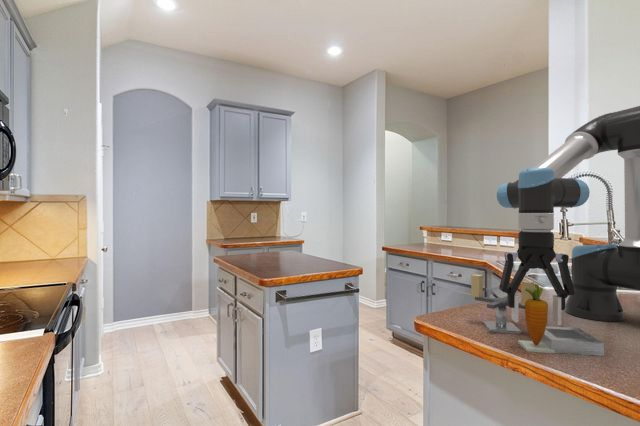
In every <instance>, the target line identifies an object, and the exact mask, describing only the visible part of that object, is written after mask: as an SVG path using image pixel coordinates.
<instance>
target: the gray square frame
mask: <svg viewBox="0 0 640 426" xmlns="http://www.w3.org/2000/svg"><path fill="white" fill-rule="evenodd" d="M540 342H543V343H544V344H545V345H546V346H548V347H549V348H550V349H551V350H554V351H555V353H554V354H569V355H570V354H571V355H582V356H583V355H585V356H597V357H598V356H599V357H605V355H604V354H605V345H604V342H603V341H601V340H599V339H598V338H596V337H594V336H593V335H591V334H589V333H588V332H586V331H585V330H582V329H581V328H579V327H566V326H564V327H563V326H548V325H546V329H545V332H544V335H543V337H542V339H541V341H540Z"/></svg>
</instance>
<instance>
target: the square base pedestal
mask: <svg viewBox="0 0 640 426" xmlns="http://www.w3.org/2000/svg"><path fill="white" fill-rule="evenodd" d="M507 307H508V306H500V307H497V308H495V320H493V321H492V320H482V324H483V327H485V328H486V329H487V330H488V332H489V333H494V334H495V333H500V334H515V335H522V330H521V329H520V328H519V327H517V326H516V325H515V324H514V323H513V322H511V321H509V322H508V321H507V318H508V317H507V310H508V309H507Z"/></svg>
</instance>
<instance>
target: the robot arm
mask: <svg viewBox="0 0 640 426" xmlns="http://www.w3.org/2000/svg"><path fill="white" fill-rule="evenodd" d="M610 151H617V155H618V156H619V157H621V158H622V159H623V160H624V162H623V163H624V165H623V166H624V168H623V169H624V170H623V171H624V173H623V174H624V175H623V176H624V180H623V181H624V239H623V240H622V241H621V242H620V243H618V246H617V245H616V244H614V243H613V244H612V243H611V244H610V243H608V244H588V245H586V244H585V245H576V246H573V248H572V249H571V258H570V257H569V256H570V255H568V254H565V253H556V251H555V249H554V246H555V233H553V232H552V230H554V229H555V223H554V221H555V217H554V216H555V211H554V210H555V209H554V208H567V209H568V208H570V209H571V208H578V207H581V206H583V205H585V203H586V202H587V201H588V200H589V198H590V187H589V185H588V184H587V183H586V182H585V181H583V180H582V179H579V178H578V179H577V178H574V177H570V178H569V177H565V176H566V175H568V174H569V172H571V171H572V170H573V169H575V168H576V167H577V166H578V165H579V164H580V163H582V162H583V161H584V160H589V159H591V158H593V157H594V156H596V155H598V154H601V153H606V152H610ZM496 199H497V202H498V204H499V205H500V206H501V207H503V208H510V209H518V224H517V225H518V227H517V228H518V229H519V230H520V231H519V232H518V233H517V234H518V235H517V236H518V239H517V240H518V248H517V250H516V251H515V252H507V251H506V252H504V260H505V263H504V265H503V266H504V267H503V270H502V274H501V279H500V283H499V287H498V289H499V291H501V292H503V293H505V294H506V295H507V296H506V297H507V304H508V306H507V307H508V308H511V320H512V321H513V322H515V323H519V308H518V303H519V295H518V294H517V291H518V289H519V287H520V286H521V282H522V281H524V278H525V276H526V274H527V273H528V272H529V271H530V269H531V270H532V269H533V270H534V269H541V270H543V272H544V273H545V275H546V276H547V277H546V278H547V279H548V281H549V282H550V284H551V286H552V288H553V290H554V292H555V294H556V295H555V294H553V295H552V322H553V323H555V324H557V326H558V325H559V326H562V311H565V312H566V313H567V314H569V315H572V316H574V317H579V318H583V319H585V320H586V319H588V320H593V321H599V322H600V321H601V322H621V321H624V319H625V317H624V316H625V311H624V310H623V307H622V304H621V302H620V299H619V296H618V293H617V288H622V289H626V290H627V289H629V290H633V291H634V290H635V291H640V105H638V106H635V107H634V106H633V107H630V108H627V109H622V110H618V111H613V112H609V113H604V114H602V115H598V116H597V117H595V118H593V119H591V120H589V121H588V122H586V123H585V124H583V125H581V126H579V128H577V129H576V130H575V131H574V130H573V132H571V133H570V134H569V135H568V136H567V137H566V138H565V140H564V143H563V144H561V145H560V146H559V147H558V148H557V149H555V150H554V151H552V152H551V153H550V154H548V156H547V157H545V158H544V159H542V160H541V161H540V162H538V163H537V164H536V165H534V167H531V168H525V169H522V170H520V172H519V173H518V179H517V180H515V181H513V182H511V181H510V182H507V183H503V184H501V185H499V186H498V188H497V191H496ZM517 258H518V259H519V261H520V264H519V266H518V269H517V271H516V272H515V274H514V276H513V278H512V280H511V276H512V272H513V268H514V263H515V261H516V260H517ZM569 258H570V260H571V272H570V268H569ZM554 260H555V261H556V262H557V266H558V270H559V274H560V278H561V282H562V283H561V282H560V280H559V278H558V276H557V274H556V273H555V271H554V270H555V269H554V267H553V265H552V264H551V263H552V262H553V261H554ZM510 280H511V282H510Z"/></svg>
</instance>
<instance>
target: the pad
mask: <svg viewBox="0 0 640 426" xmlns="http://www.w3.org/2000/svg"><path fill="white" fill-rule="evenodd" d="M517 343H518V344H519V345H520V346H521V347H522V348H523V349H524V350H525V351H526V352H530V353H531V352H532V353H546V354H556V353H555V351H554V350H551V349H550V348H549V347H548V346H546V345H545V344H544V343H543V342H540V343H539V344H538V345H535V344H534V343H533V342H532V340H522V339H521V340H520V339H518V341H517Z"/></svg>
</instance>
